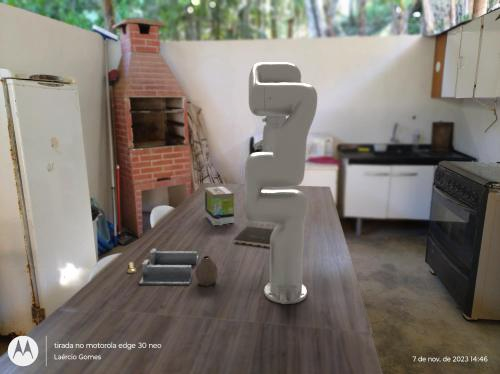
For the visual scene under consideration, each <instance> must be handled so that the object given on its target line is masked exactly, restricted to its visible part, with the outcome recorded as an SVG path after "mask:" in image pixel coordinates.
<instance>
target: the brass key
mask: <svg viewBox="0 0 500 374" xmlns="http://www.w3.org/2000/svg"><path fill="white" fill-rule="evenodd" d="M128 265H129V268H128V269H127V273H128V274H135V273H136V272H137V268H136V267H134V262H133V261H132V262H131V261H130V262H129V264H128Z"/></svg>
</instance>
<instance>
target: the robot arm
mask: <svg viewBox="0 0 500 374" xmlns="http://www.w3.org/2000/svg"><path fill="white" fill-rule="evenodd" d="M317 106H318V93H317V90H316V88H315V87H314V86H313V85H311V84H309V83H308V84H307V83H303V82H302V74H301V70H300V69H299V67H298V66H296V65H295V64H293V63H291V62H258V63H255V64H254V65H253V66H252V67H251V69H250V72H249V75H248V108H249V110H250V112H251V113H252V114H253V115H254V116H257V117H264V118H261V119H262V120H261V121H262V123H265V124H264V126H263V131H262V139H260V140H259V141H257V142H255V143H254V144H253V145H252V146H253V149H254V150H255V152H251V154H249V155H248V156H247V158H246V160H245V161H246V162H245V164H244V165H245V166H244V167H245V168H244V214H245V218H246V220H247V221H248V222H250V223H252V224H277V225H276V226H275V227H274V230H273V232H272V234H271V237H270V247H269V282H268V283H267V284H266V285H265V286H264V288H263V290H264V291H263V293H264V295H265V297H266V298H267V299H268V300H270V301H272V302H274V303H278V304H282V305H290V304H296V303H300V302H302V301H303V300H305V299H306V298H307V295H308V290H307V289H308V288H307V287H306V286H305V285H304V284H303V268H304V267H303V265H304V264H303V263H304V262H303V260H304V259H303V258H304V240H305V239H304V235H305V224H306V219H307V214H308V209H309V208H308V207H309V201H308V197H307V195H306V194H305V192H303V191H301V190H300V189H295V188H296V187H298V186H300V185H301V184H302V183H303V181H304V178H305V172H306V158H307V141H308V135H309V132H310V129H311V127H312V124H313V122H314V119H315V116H316V112H317V108H318V107H317ZM259 146H262V150H260V149H259ZM294 187H295V188H294ZM267 188H269V189H267ZM270 188H271V189H270ZM273 188H275V189H273Z"/></svg>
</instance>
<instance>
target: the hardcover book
mask: <svg viewBox="0 0 500 374" xmlns="http://www.w3.org/2000/svg"><path fill="white" fill-rule="evenodd" d="M274 229H275V228H274ZM274 229H273V228H267V227H266V228H265V227H258V226H257V227H256V226H250V225H249V226H246V227H245V228H244V229H242V231H240V233H238V234H237V235H236V236H235V237H234V238H233V240H234V243H235V242H238V243H237V244H242V243H246V244H245V245H249V244H252V245H251V246H257V245H260V246H259V247H264V246H266V248H270V237H271V234H272V232H273V230H274Z"/></svg>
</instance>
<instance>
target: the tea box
mask: <svg viewBox="0 0 500 374" xmlns="http://www.w3.org/2000/svg"><path fill="white" fill-rule="evenodd" d="M204 201H205V202H204V208H205V209H204V210H205V211H204V212H205V214H204V215H205V217H207V218H208V219H209V220H210V221H211V222H210V221H209V220H208V219H207V218H206V219H207V220H208V221H209V222H210V223H211V224H212V226H214V225H219V226H221V225H220V224H226V223H235V193H234V192H233V191H231V190H230V189H229V188H227V187H225V186H223V185H221V186H214V187H213V186H212V187H210V186H209V187H205V188H204Z"/></svg>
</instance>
